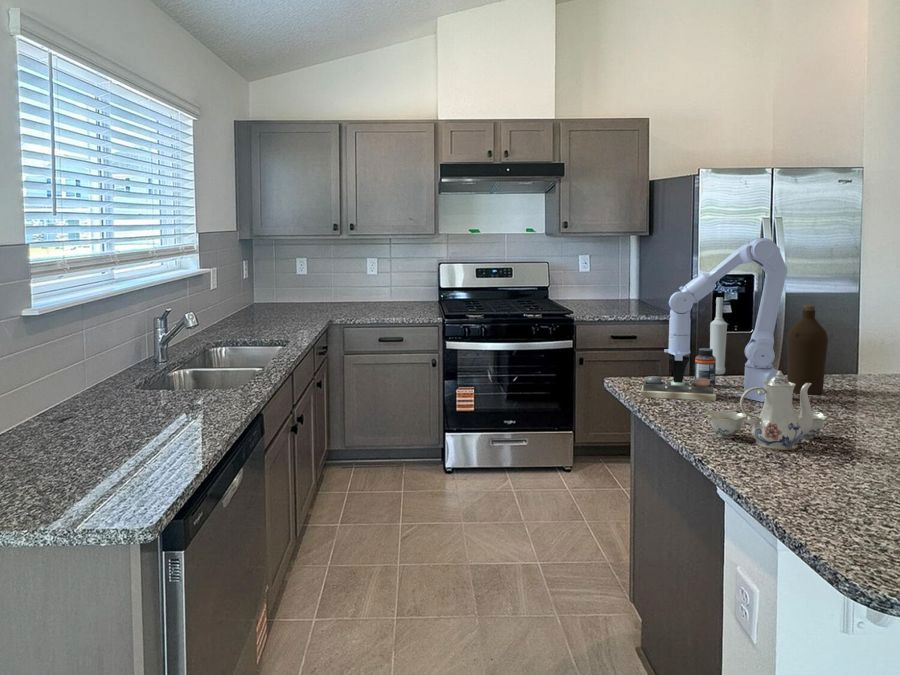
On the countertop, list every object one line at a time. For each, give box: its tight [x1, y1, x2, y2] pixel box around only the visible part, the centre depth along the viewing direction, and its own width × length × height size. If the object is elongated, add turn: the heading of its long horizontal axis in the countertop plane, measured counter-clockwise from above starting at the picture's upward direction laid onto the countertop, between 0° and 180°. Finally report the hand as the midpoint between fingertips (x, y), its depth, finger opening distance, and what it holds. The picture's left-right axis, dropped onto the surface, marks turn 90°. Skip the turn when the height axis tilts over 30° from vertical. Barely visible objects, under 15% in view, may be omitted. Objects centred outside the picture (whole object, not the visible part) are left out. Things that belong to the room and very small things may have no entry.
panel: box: [640, 380, 717, 402], centre depth 219 cm, size 20×10×3 cm, turn 73°
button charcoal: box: [646, 375, 663, 385], centre depth 220 cm, size 4×4×2 cm
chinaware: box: [701, 370, 836, 451], centre depth 169 cm, size 28×17×17 cm, turn 92°
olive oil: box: [786, 304, 829, 396], centre depth 221 cm, size 11×11×25 cm
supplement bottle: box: [694, 347, 716, 388], centre depth 232 cm, size 6×6×11 cm
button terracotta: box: [694, 378, 710, 387], centre depth 217 cm, size 4×4×2 cm
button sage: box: [670, 380, 686, 386], centre depth 219 cm, size 4×4×2 cm
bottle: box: [709, 296, 728, 375], centre depth 253 cm, size 5×5×25 cm
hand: (678, 382), depth 218 cm, fingers closed, pressing on button sage
